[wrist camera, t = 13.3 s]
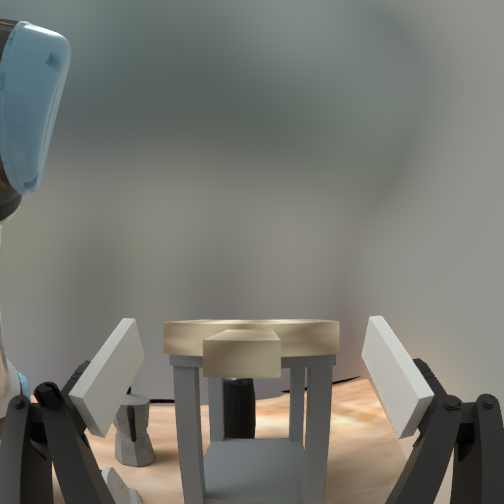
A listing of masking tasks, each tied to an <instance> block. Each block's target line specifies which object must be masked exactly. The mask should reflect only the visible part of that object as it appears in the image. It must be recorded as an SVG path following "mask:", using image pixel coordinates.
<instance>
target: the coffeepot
mask: <svg viewBox="0 0 504 504" xmlns="http://www.w3.org/2000/svg"><path fill="white" fill-rule="evenodd" d="M149 405H150V399H149V398H147V397H145V396H143V395H138V394H133V393H131V387H129V389H128V391H127V393H126V395H125V397H124V399H123V401H122V403H121V405H120V407H119V409H118V411H117V413H116V415H115V418H114V420H113V424H114V426H115V427H116V429H117V433H116V441H115V457H116V459H117V460H118V461H119V462H120V463H122V464H124V465H127V466H132V467H142V466H146V465H149V464H151V463H152V462H153V461H154V458H155V454H154V451H153V448H152V445H151V441H150V438H149V435H148V434H147V431H146V428H147V427H148V418H149Z"/></svg>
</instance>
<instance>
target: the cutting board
mask: <svg viewBox="0 0 504 504" xmlns="http://www.w3.org/2000/svg"><path fill="white" fill-rule="evenodd" d="M163 326H164V327H163V334H164V335H163V336H164V337H163V338H164V341H163V342H164V354H173V355H188V356H203V377H217V378H281V357H294V356H315V355H330V354H339V321H327V320H313V319H290V320H193V321H175V322H164V323H163Z"/></svg>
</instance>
